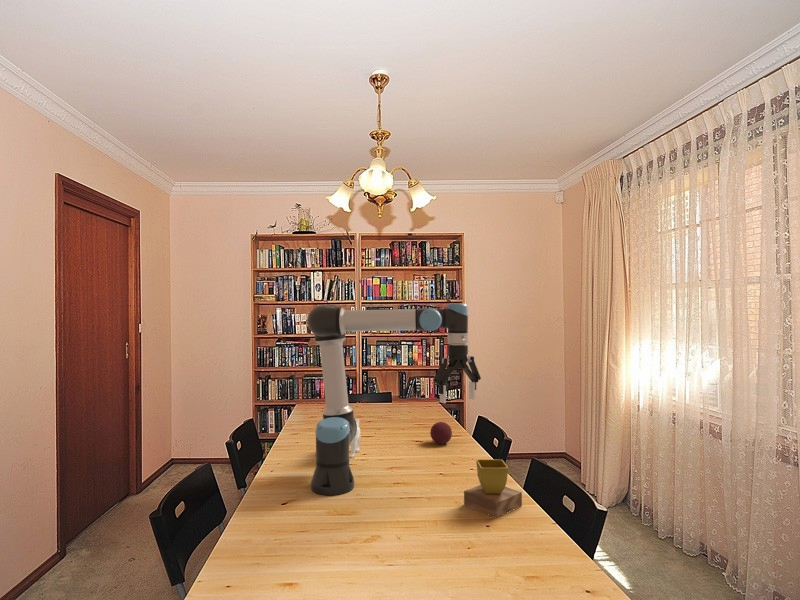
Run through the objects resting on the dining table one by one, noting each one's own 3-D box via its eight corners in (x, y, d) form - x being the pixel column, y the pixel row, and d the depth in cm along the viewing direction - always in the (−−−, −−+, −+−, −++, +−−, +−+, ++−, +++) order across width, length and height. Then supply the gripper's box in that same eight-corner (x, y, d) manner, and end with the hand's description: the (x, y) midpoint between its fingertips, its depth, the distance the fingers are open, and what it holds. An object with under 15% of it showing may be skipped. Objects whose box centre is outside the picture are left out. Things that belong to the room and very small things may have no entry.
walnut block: (496, 519, 151) (496, 503, 151) (464, 506, 161) (464, 491, 161) (521, 507, 159) (521, 492, 159) (489, 496, 169) (489, 481, 169)
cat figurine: (334, 446, 226) (334, 409, 226) (357, 445, 228) (357, 408, 228) (339, 464, 202) (338, 422, 202) (364, 462, 204) (364, 421, 204)
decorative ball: (428, 446, 226) (428, 424, 227) (432, 440, 236) (432, 419, 236) (450, 447, 224) (450, 425, 224) (453, 441, 234) (453, 420, 234)
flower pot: (502, 486, 165) (502, 458, 165) (508, 496, 156) (508, 467, 156) (476, 486, 165) (475, 459, 165) (481, 496, 156) (480, 467, 156)
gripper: (435, 346, 177) (435, 406, 177) (489, 343, 190) (490, 399, 190) (424, 344, 184) (424, 402, 183) (477, 342, 196) (477, 396, 196)
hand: (457, 401), depth 187 cm, fingers open, 13 cm apart
